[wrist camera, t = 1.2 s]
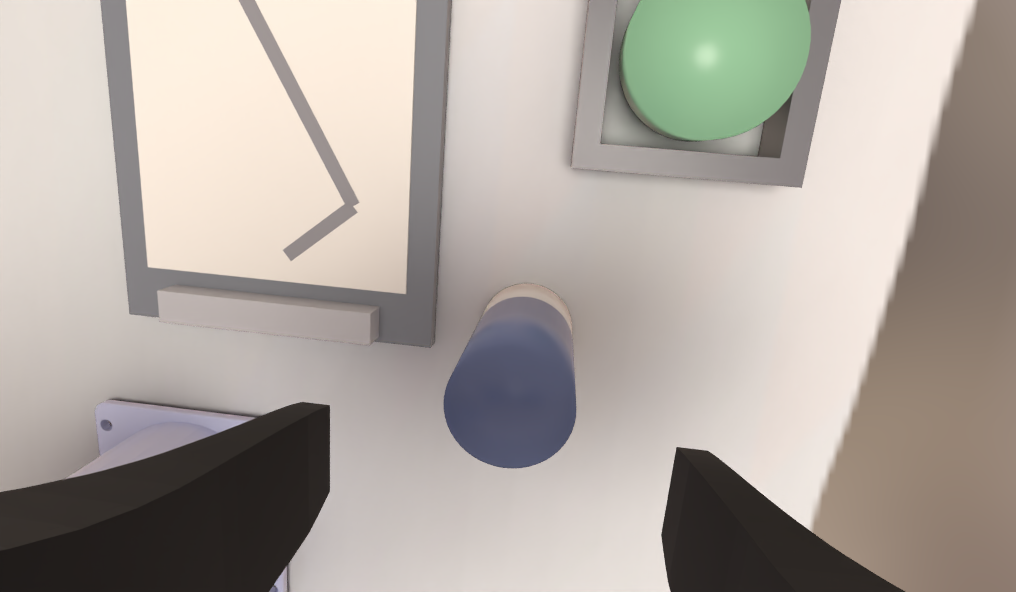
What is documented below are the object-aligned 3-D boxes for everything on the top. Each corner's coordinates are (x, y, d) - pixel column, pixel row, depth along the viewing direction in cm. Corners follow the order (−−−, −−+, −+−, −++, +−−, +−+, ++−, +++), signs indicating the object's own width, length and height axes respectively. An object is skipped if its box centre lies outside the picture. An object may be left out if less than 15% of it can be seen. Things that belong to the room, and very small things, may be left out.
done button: (764, 147, 17) (790, 146, 15) (609, 135, 18) (615, 132, 16) (797, -24, 16) (829, -48, 14) (630, -34, 16) (639, -59, 14)
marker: (567, 374, 21) (568, 476, 14) (479, 364, 21) (440, 459, 15) (576, 288, 20) (583, 353, 14) (485, 278, 21) (447, 338, 14)
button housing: (777, 184, 19) (801, 187, 17) (570, 166, 19) (571, 168, 17) (823, -47, 17) (856, -73, 15) (595, -60, 18) (598, -86, 16)
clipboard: (434, 342, 21) (424, 356, 20) (141, 310, 22) (109, 321, 21) (458, -139, 17) (448, -168, 16) (100, -155, 18) (57, -184, 17)
